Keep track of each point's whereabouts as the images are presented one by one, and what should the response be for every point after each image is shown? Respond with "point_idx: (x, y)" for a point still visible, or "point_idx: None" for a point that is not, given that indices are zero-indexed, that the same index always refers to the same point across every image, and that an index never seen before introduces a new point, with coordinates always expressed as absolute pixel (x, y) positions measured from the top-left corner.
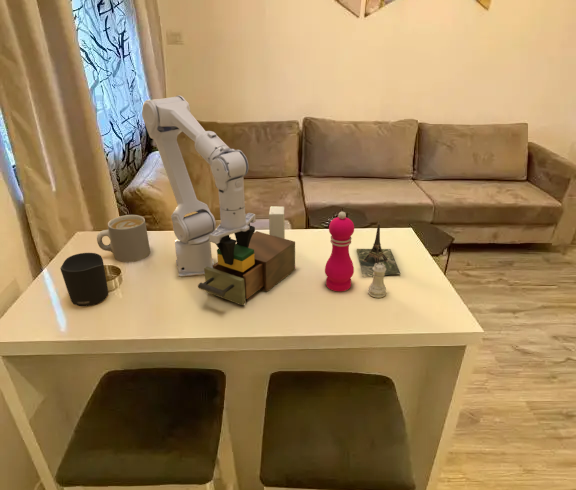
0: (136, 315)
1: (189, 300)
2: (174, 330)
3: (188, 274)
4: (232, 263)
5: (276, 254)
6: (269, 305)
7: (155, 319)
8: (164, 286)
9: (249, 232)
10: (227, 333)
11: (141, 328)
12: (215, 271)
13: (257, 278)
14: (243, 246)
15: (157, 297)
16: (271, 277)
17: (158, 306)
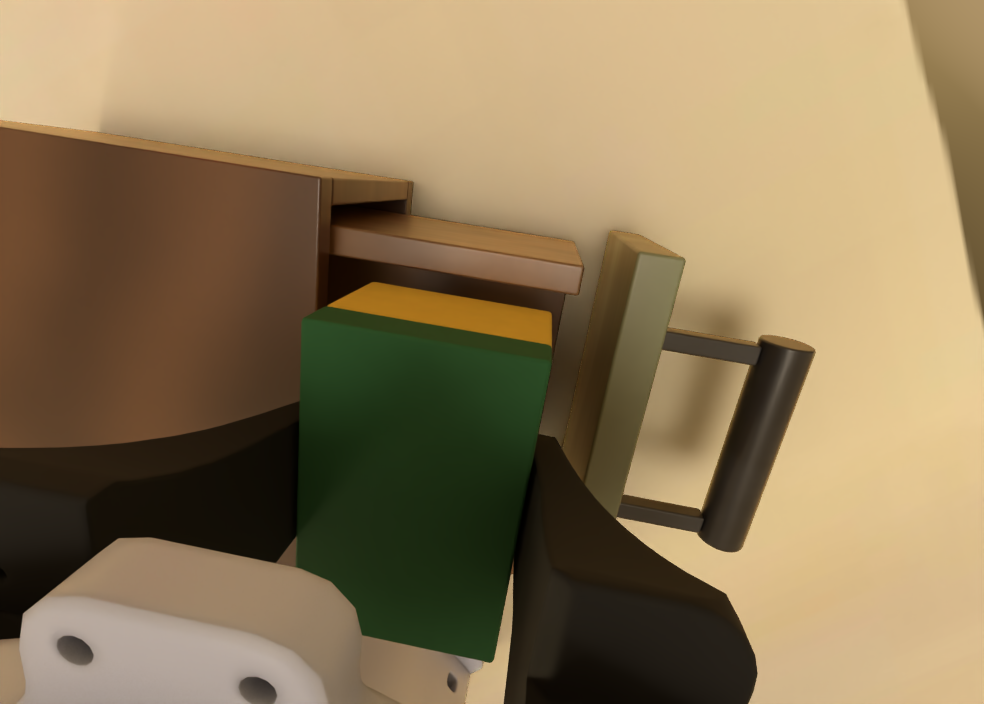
0: (857, 676)
1: (658, 531)
2: (951, 472)
3: None
4: (542, 437)
5: (132, 151)
6: (545, 87)
7: (871, 593)
8: None
9: (124, 497)
10: (925, 189)
11: (963, 612)
12: None
13: (434, 229)
14: (301, 461)
15: None
16: (326, 170)
17: (756, 629)
